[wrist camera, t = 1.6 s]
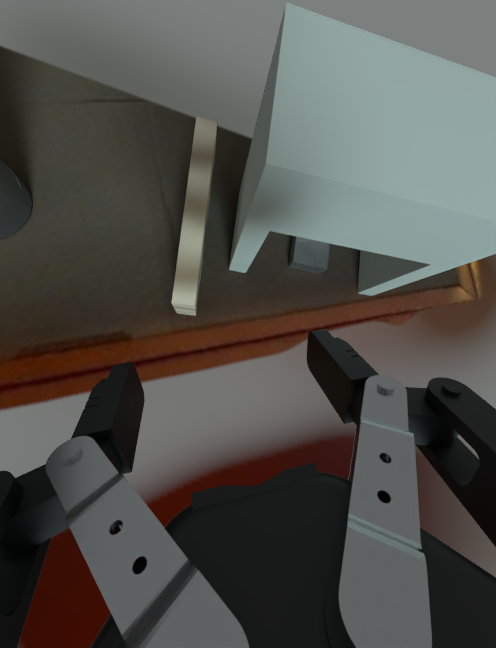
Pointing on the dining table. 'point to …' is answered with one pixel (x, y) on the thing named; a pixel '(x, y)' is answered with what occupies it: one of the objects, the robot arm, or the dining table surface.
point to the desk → (370, 154)
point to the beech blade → (195, 218)
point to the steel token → (308, 254)
